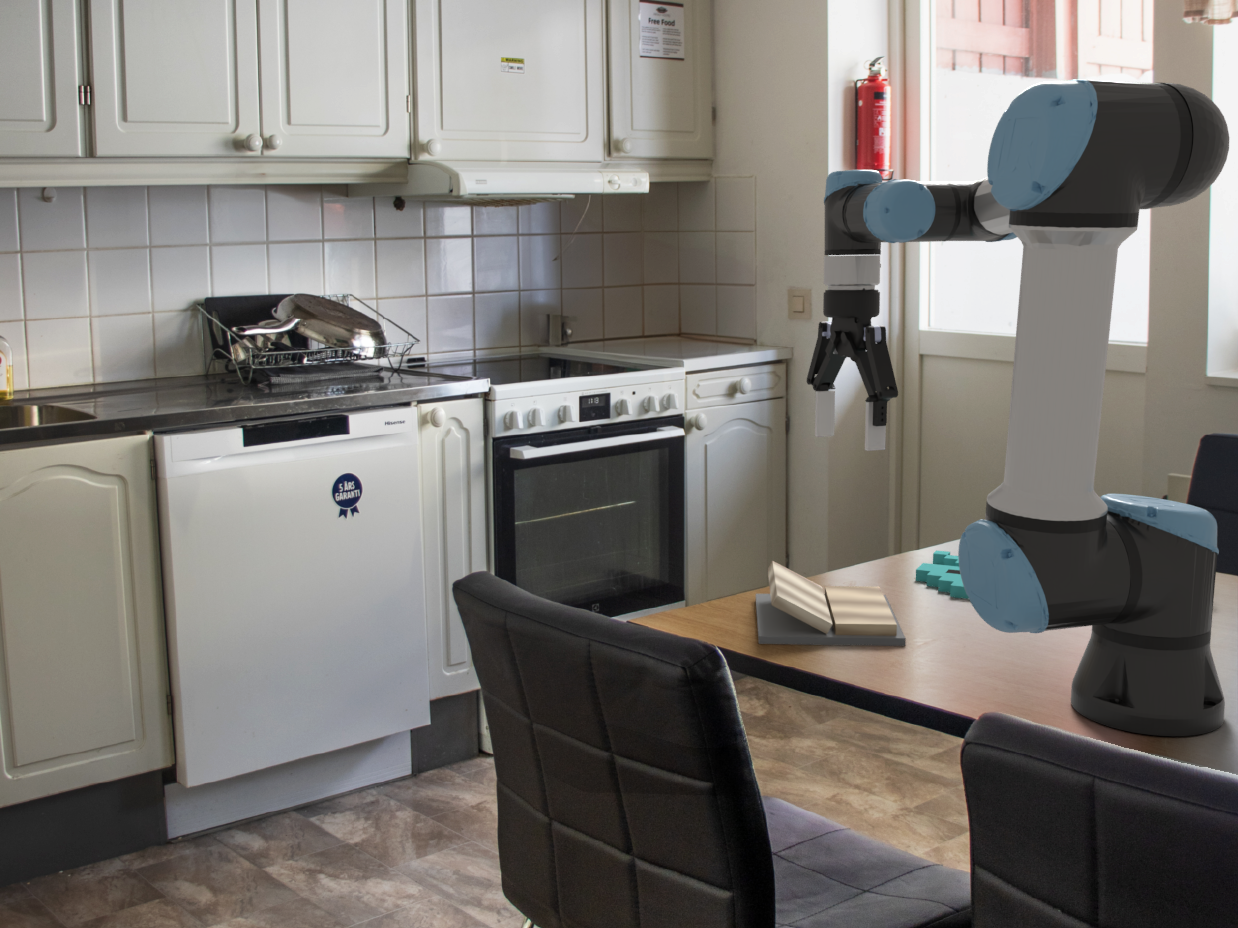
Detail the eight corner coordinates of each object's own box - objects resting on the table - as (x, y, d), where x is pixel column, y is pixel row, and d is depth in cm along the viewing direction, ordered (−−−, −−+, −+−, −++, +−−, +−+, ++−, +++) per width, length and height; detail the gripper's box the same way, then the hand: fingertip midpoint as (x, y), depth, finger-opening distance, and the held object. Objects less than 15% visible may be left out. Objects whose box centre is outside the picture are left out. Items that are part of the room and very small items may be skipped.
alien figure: (936, 563, 194) (904, 594, 177) (936, 550, 194) (904, 580, 176) (1066, 576, 185) (1046, 611, 168) (1066, 563, 185) (1047, 595, 167)
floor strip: (896, 635, 153) (896, 624, 153) (835, 634, 154) (835, 623, 153) (879, 596, 170) (879, 586, 170) (824, 596, 171) (824, 585, 171)
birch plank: (826, 634, 154) (832, 624, 153) (771, 605, 154) (777, 595, 153) (817, 595, 171) (822, 586, 171) (767, 569, 171) (772, 560, 171)
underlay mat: (905, 645, 152) (905, 638, 152) (758, 643, 154) (758, 636, 153) (885, 601, 172) (885, 594, 171) (755, 600, 173) (755, 593, 173)
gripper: (928, 289, 152) (923, 454, 155) (830, 285, 175) (828, 429, 178) (876, 290, 149) (873, 458, 153) (784, 286, 172) (782, 432, 176)
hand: (848, 443), depth 166 cm, fingers open, 13 cm apart
